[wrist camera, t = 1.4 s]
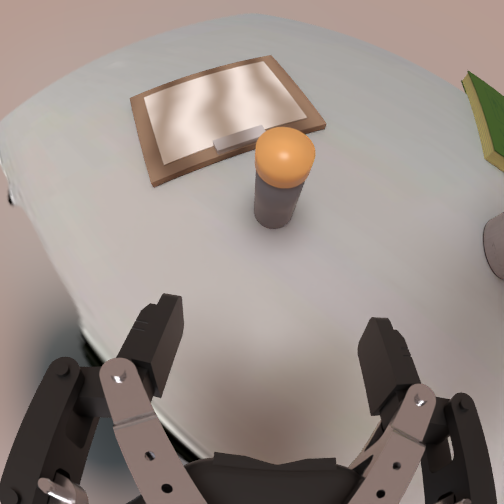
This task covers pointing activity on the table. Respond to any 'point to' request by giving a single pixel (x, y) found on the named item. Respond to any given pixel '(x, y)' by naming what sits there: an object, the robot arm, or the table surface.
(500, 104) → the hardcover book
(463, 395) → the robot arm
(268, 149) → the orange and grey cylinder
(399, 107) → the table surface
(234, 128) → the clipboard
